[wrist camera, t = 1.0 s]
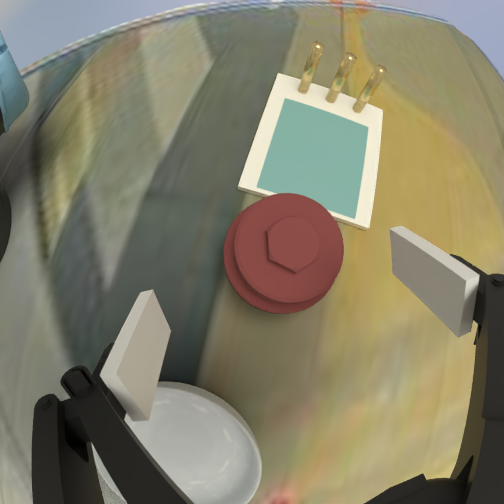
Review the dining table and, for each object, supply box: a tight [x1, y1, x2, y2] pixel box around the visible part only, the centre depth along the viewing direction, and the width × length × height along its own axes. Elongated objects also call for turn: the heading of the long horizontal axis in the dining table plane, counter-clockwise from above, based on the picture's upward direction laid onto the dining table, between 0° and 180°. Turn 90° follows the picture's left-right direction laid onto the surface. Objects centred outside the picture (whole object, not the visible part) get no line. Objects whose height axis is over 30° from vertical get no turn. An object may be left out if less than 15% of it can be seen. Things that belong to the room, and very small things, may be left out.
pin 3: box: [352, 65, 387, 113], centre depth 33 cm, size 1×1×9 cm
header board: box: [238, 73, 383, 231], centre depth 36 cm, size 16×19×1 cm
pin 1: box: [298, 41, 324, 94], centre depth 33 cm, size 1×1×9 cm
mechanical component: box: [223, 193, 344, 313], centre depth 27 cm, size 12×10×10 cm
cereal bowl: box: [91, 381, 262, 504], centre depth 26 cm, size 17×17×7 cm
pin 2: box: [326, 52, 357, 103], centre depth 33 cm, size 1×1×9 cm
